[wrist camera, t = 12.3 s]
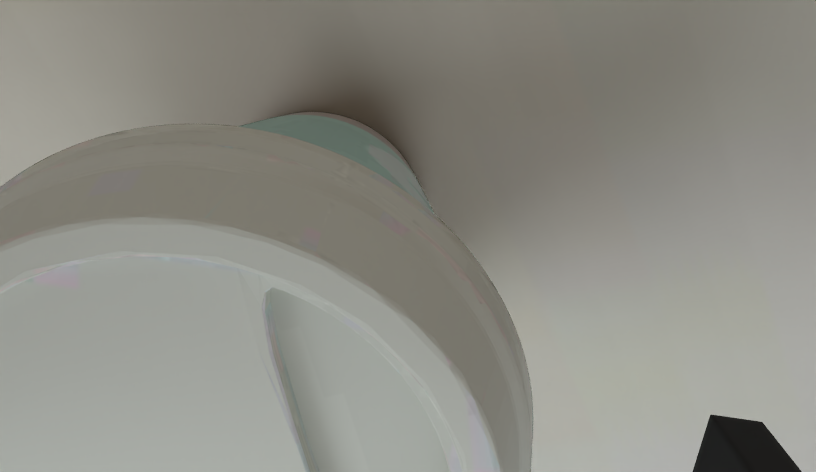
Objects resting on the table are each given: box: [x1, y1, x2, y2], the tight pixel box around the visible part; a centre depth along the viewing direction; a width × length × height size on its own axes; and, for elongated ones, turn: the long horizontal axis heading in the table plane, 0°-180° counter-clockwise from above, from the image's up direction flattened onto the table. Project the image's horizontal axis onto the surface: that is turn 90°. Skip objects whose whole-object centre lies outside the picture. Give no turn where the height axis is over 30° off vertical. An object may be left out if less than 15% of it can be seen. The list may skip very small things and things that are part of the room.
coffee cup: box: [0, 112, 533, 472], centre depth 14 cm, size 8×8×12 cm
